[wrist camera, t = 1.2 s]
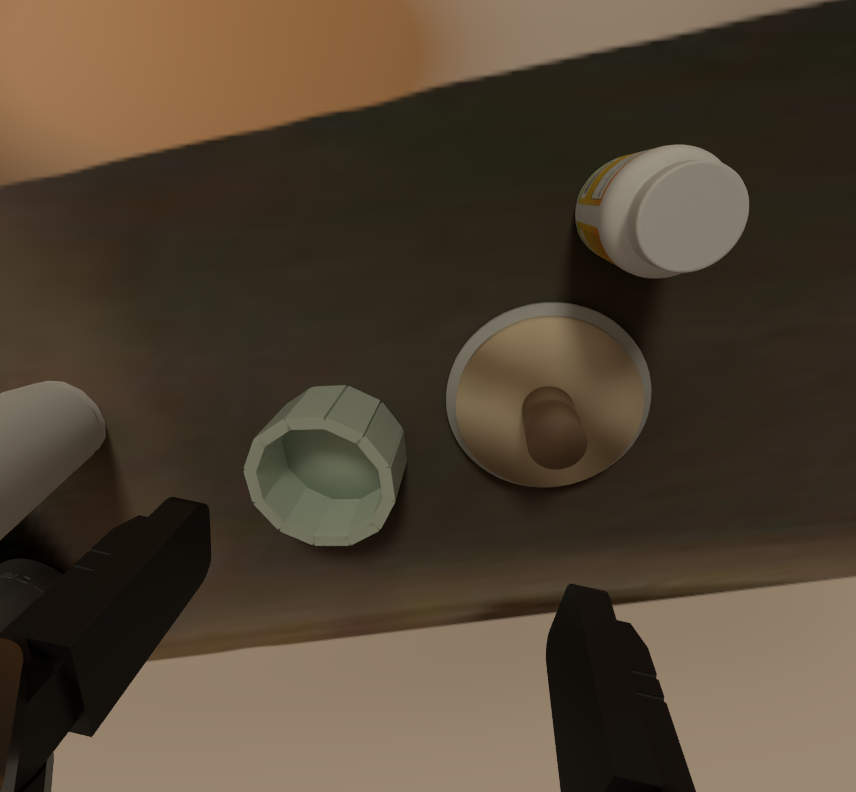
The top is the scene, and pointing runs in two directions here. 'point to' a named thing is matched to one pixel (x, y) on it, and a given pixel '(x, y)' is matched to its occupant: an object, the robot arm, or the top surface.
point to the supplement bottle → (662, 211)
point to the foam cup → (42, 444)
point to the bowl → (328, 466)
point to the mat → (536, 311)
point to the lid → (549, 401)
